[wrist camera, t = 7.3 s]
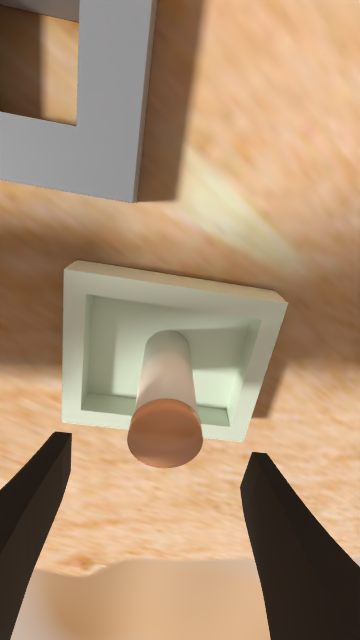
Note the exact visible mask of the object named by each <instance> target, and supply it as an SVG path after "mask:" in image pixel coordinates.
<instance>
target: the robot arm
mask: <svg viewBox="0 0 360 640" xmlns="http://www.w3.org/2000/svg"><path fill="white" fill-rule="evenodd" d="M71 442H72V433H65V432H54V433H53V434H52V435H51V436H50V437H49V439H48V440H47V441H46V442H45V443H44V445H43V446H42V447H41V448H40V449H39V450H38V451H37V453H36V454H35V455H34V456H33V457H32V458H31V459H30V460H29V461H28V462H27V463H26V464H25V466H24V467H23V468H22V469H21V470H20V471H19V472H18V473H17V474H16V475H15V476H14V477H13V478H12V479H11V480H10V481H9V482H8V483H7V484H6V485H5V486H4V487H3V488H2V489H1V490H0V640H10V638H11V635H12V632H13V629H14V626H15V623H16V619H17V616H18V613H19V610H20V607H21V604H22V601H23V598H24V595H25V592H26V588H27V586H28V583H29V580H30V577H31V575H32V572H33V570H34V567H35V565H36V562H37V560H38V557H39V555H40V552H41V550H42V548H43V545H44V543H45V540H46V538H47V535H48V533H49V531H50V528H51V526H52V523H53V521H54V518H55V516H56V514H57V511H58V509H59V506H60V504H61V501H62V498H63V495H64V492H65V489H66V485H67V482H68V478H69V475H70V472H71ZM240 490H241V498H242V506H243V512H244V518H245V522H246V526H247V530H248V534H249V538H250V542H251V546H252V550H253V554H254V558H255V562H256V566H257V570H258V574H259V578H260V582H261V587H262V591H263V596H264V601H265V607H266V613H267V619H268V625H269V631H270V637H271V640H360V567H359V566H358V565H357V564H356V563H355V562H354V561H353V560H352V559H351V558H350V556H349V555H348V554H347V553H346V552H345V551H344V550H343V549H342V548H341V547H340V546H339V545H338V544H337V543H336V541H335V540H334V539H333V538H332V537H331V536H330V535H329V534H328V532H327V531H326V530H325V529H324V528H323V527H322V525H321V524H320V523H319V522H318V521H317V519H316V518H315V517H314V516H313V515H312V513H311V512H310V511H309V510H308V508H307V507H306V506H305V504H304V503H303V502H302V501H301V499H300V498H299V497H298V495H297V494H296V493H295V491H294V490H293V489H292V487H291V486H290V485H289V483H288V482H287V481H286V479H285V478H284V477H283V475H282V474H281V472H280V471H279V470H278V468H277V467H276V465H275V464H274V463H273V461H272V460H271V459H270V457H269V456H268V454H267V453H258V452H252V454H251V457H250V460H249V463H248V466H247V469H246V472H245V474H244V477H243V480H242V483H241V486H240Z"/></svg>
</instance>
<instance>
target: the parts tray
mask: <svg viewBox="0 0 360 640" xmlns="http://www.w3.org/2000/svg"><path fill="white" fill-rule="evenodd" d="M287 306H288V303H287V302H286V301H285V300H284V299H283V298H282V297H281V296H280V295H279V294H278V293H277V292H276V291H274V290H268V289H261V288H255V287H249V286H242V285H236V284H229V283H223V282H217V281H210V280H204V279H197V278H191V277H185V276H178V275H172V274H165V273H159V272H153V271H146V270H140V269H133V268H127V267H121V266H114V265H108V264H101V263H95V262H89V261H82V260H76V261H75V262H73V263H72V264H70V265H69V266H67V267H66V268H65V269H64V289H63V359H62V422H63V423H72V424H81V425H90V426H99V427H108V428H117V429H126V430H129V426H130V421H131V418H132V416H133V414H134V410H135V404H136V398H137V392H138V386H139V380H140V374H141V368H142V362H143V356H144V350H145V345H146V342H147V341H148V339H149V338H150V337H151V336H152V335H153V334H155V333H157V332H159V331H163V330H172V331H176V332H178V333H180V334H182V335H183V336H184V337H185V338H186V339H187V341H188V343H189V346H190V353H191V362H192V370H193V379H194V387H195V396H196V404H197V413H198V416H199V418H200V421H201V427H202V435H203V438H208V439H217V440H227V441H236V442H243V441H244V438H245V435H246V432H247V429H248V426H249V423H250V420H251V417H252V414H253V411H254V408H255V404H256V401H257V398H258V395H259V392H260V389H261V386H262V383H263V380H264V377H265V374H266V371H267V368H268V365H269V361H270V358H271V355H272V352H273V349H274V346H275V343H276V340H277V337H278V334H279V331H280V328H281V325H282V322H283V318H284V315H285V312H286V309H287Z"/></svg>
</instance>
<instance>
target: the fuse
mask: <svg viewBox="0 0 360 640" xmlns="http://www.w3.org/2000/svg"><path fill="white" fill-rule="evenodd" d="M127 441H128V447H129V449H130V451H131V453H132V454H133V455H134V456H135V458H137V459H138V460H139V461H141V462H142V463H144V464H146V465H149V466H152V467H157V468H173V467H178V466H181V465H183V464H186V463H187V462H189V461H191V460H192V459H193V458H194V457H195V456H196V455H197V454H198V453H199V451H200V449H201V447H202V443H203V435H202V427H201V421H200V418H199V416H198V413H197V404H196V396H195V387H194V379H193V370H192V362H191V353H190V346H189V343H188V341H187V339H186V338H185V337H184V336H183V335H182V334H180V333H178V332H176V331H172V330H163V331H159V332H157V333H155V334H153V335H152V336H151V337H150V338H149V339H148V341H147V342H146V345H145V350H144V356H143V362H142V368H141V374H140V380H139V386H138V392H137V398H136V404H135V410H134V414H133V416H132V418H131V421H130V426H129V432H128V439H127Z"/></svg>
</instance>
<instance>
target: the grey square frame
mask: <svg viewBox="0 0 360 640" xmlns="http://www.w3.org/2000/svg"><path fill="white" fill-rule="evenodd" d="M157 3H158V0H0V5H3V6H8V7H12V8H17V9H21V10H26V11H30V12H34V13H39V14H43V15H48V16H52V17H57V18H61V19H66V20H70V21H75V22H79V47H78V85H77V123H76V126H72V125H67V124H62V123H56V122H51V121H46V120H41V119H36V118H31V117H25V116H20V115H15V114H10V113H5V112H0V180H2V181H8V182H14V183H20V184H25V185H31V186H37V187H42V188H48V189H54V190H60V191H65V192H71V193H77V194H82V195H88V196H94V197H100V198H105V199H111V200H117V201H122V202H128V203H135V202H137V199H138V189H139V179H140V169H141V159H142V150H143V140H144V130H145V120H146V111H147V101H148V91H149V81H150V71H151V62H152V52H153V42H154V32H155V23H156V13H157Z"/></svg>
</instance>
